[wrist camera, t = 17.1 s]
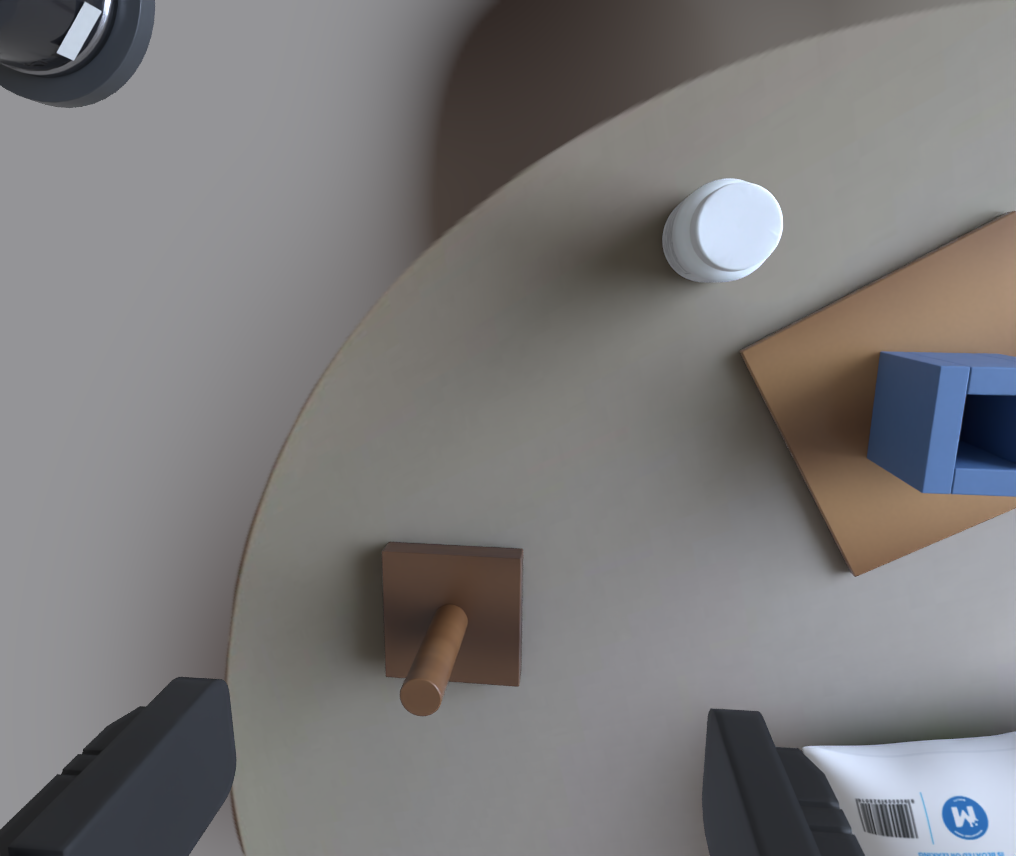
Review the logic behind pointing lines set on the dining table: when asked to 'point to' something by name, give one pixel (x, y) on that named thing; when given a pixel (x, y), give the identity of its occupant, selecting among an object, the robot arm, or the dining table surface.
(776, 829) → the robot arm
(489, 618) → the dowel stand
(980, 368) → the blue pencil cup
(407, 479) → the dining table surface
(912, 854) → the pouch
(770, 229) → the pill bottle
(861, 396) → the wooden board
